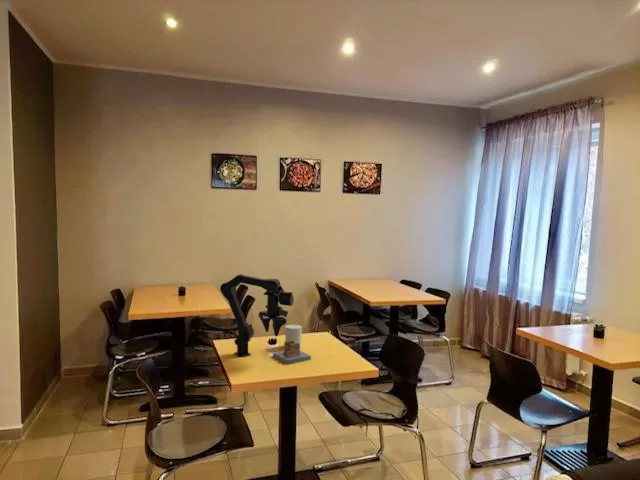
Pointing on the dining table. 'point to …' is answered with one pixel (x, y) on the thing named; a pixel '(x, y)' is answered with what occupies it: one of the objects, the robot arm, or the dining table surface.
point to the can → (293, 333)
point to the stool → (291, 348)
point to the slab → (291, 360)
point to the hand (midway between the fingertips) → (271, 334)
